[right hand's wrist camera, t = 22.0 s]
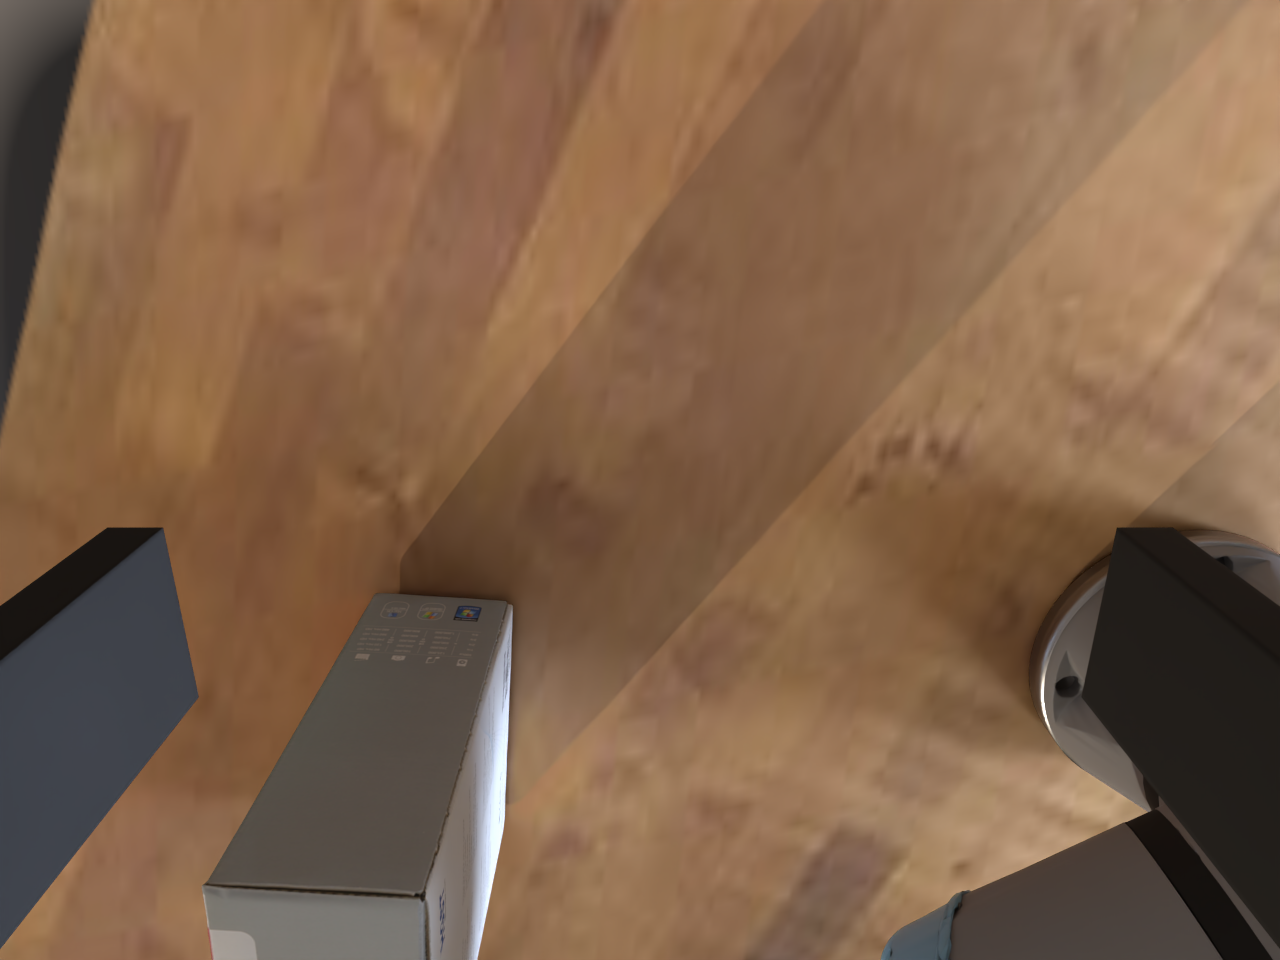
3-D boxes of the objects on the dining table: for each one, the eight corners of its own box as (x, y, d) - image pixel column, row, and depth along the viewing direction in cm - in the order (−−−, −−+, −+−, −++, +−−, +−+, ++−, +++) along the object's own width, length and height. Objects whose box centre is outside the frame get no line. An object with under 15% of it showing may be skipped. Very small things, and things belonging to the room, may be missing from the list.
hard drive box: (371, 587, 47) (197, 878, 29) (515, 597, 48) (434, 892, 29) (379, 819, 53) (238, 1188, 34) (508, 826, 53) (437, 1197, 35)
